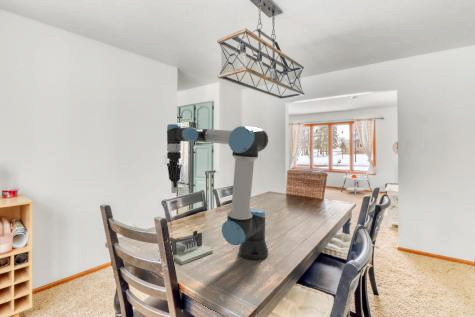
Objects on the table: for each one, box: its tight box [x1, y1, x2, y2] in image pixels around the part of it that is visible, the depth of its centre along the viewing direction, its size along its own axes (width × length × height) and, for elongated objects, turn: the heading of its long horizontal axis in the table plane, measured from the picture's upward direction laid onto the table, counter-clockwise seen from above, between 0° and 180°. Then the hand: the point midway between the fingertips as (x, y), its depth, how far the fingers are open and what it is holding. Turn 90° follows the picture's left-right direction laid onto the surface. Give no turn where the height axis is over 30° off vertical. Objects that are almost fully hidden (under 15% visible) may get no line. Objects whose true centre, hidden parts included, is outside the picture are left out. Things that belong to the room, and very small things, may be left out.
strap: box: [175, 233, 198, 242], centre depth 126 cm, size 3×14×2 cm, turn 134°
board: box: [173, 239, 214, 265], centre depth 126 cm, size 22×18×2 cm
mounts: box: [169, 230, 203, 255], centre depth 126 cm, size 5×16×7 cm, turn 134°
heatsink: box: [176, 239, 198, 253], centre depth 126 cm, size 9×8×4 cm
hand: (174, 192), depth 137 cm, fingers closed
